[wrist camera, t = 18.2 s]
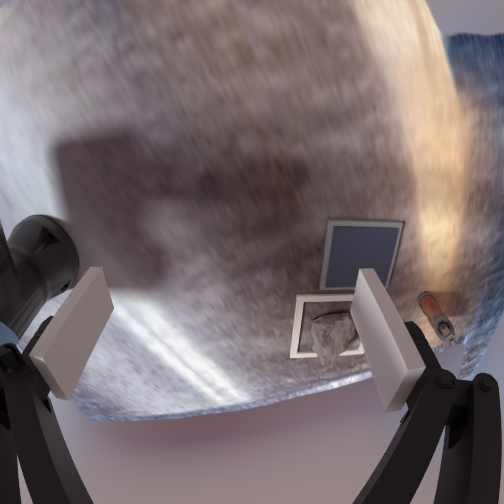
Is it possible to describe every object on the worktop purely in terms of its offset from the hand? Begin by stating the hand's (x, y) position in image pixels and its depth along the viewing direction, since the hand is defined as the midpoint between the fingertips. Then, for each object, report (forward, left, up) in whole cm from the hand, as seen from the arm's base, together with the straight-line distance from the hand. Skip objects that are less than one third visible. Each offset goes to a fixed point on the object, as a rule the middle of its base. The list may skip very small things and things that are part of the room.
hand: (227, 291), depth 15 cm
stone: (+15, -29, -29) cm, 44 cm away
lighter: (+35, -25, -29) cm, 52 cm away
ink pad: (+18, -14, -29) cm, 37 cm away
